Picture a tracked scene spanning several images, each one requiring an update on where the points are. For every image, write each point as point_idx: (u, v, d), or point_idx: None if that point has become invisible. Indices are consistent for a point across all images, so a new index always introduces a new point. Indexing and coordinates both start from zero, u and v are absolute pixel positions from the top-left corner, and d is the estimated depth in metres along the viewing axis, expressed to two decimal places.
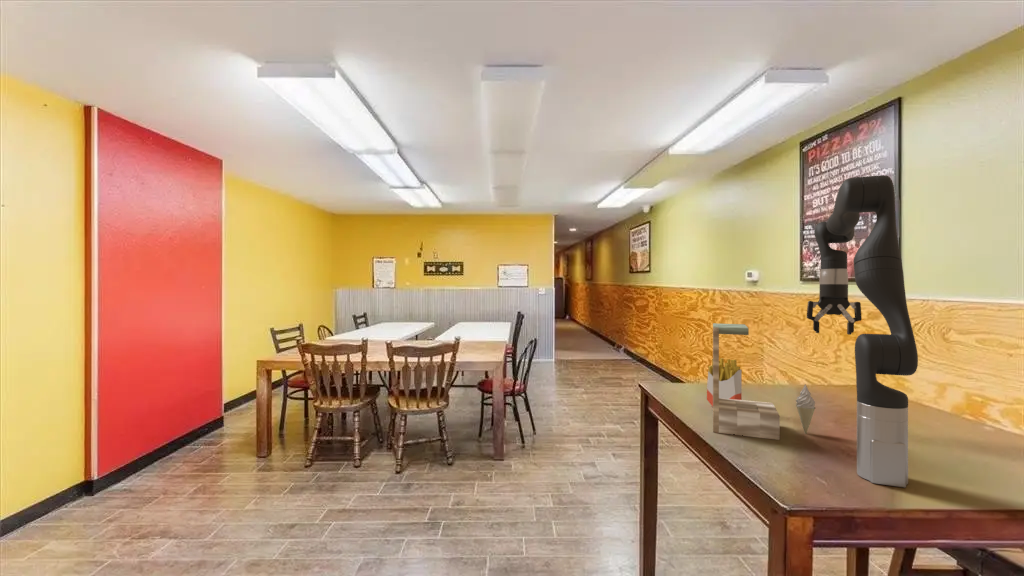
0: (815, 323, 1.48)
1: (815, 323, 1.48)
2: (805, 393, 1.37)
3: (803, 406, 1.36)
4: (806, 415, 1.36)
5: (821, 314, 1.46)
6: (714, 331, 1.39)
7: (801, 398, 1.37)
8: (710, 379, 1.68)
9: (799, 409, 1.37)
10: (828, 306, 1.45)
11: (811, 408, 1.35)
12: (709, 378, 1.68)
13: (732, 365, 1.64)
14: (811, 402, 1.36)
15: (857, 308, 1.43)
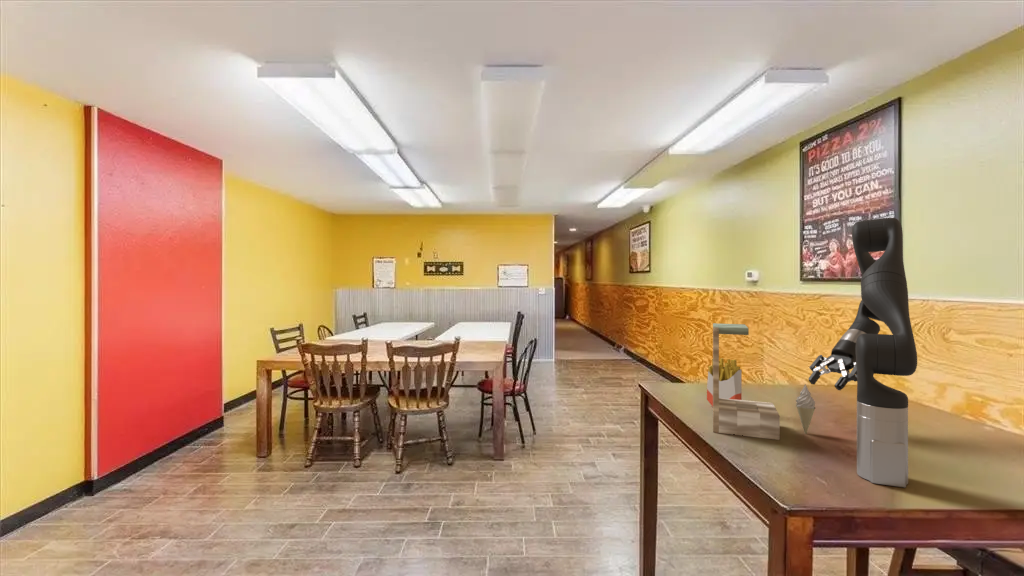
0: (813, 373, 1.45)
1: (813, 373, 1.45)
2: (805, 393, 1.37)
3: (803, 406, 1.36)
4: (806, 415, 1.36)
5: (821, 365, 1.44)
6: (714, 331, 1.39)
7: (801, 398, 1.37)
8: (709, 379, 1.68)
9: (799, 409, 1.37)
10: (830, 359, 1.43)
11: (811, 408, 1.35)
12: (709, 378, 1.68)
13: (732, 365, 1.64)
14: (811, 402, 1.36)
15: (855, 366, 1.35)
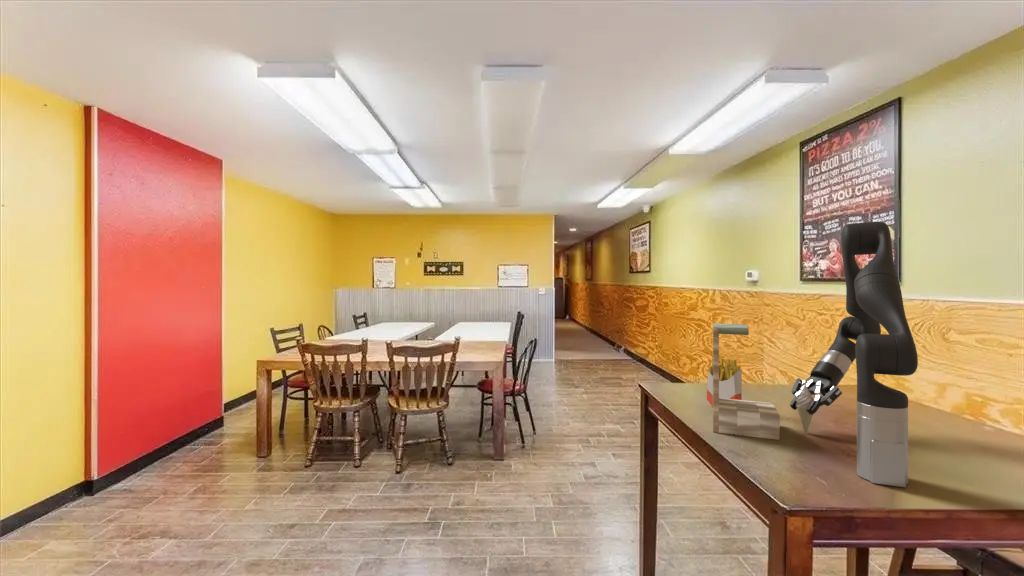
0: (794, 398, 1.41)
1: (794, 398, 1.41)
2: (805, 393, 1.37)
3: (803, 406, 1.36)
4: (806, 415, 1.36)
5: (801, 388, 1.41)
6: (714, 331, 1.39)
7: (801, 398, 1.37)
8: (710, 379, 1.68)
9: (799, 409, 1.37)
10: (809, 381, 1.40)
11: None
12: (709, 378, 1.68)
13: (732, 365, 1.64)
14: (811, 402, 1.36)
15: (831, 391, 1.33)
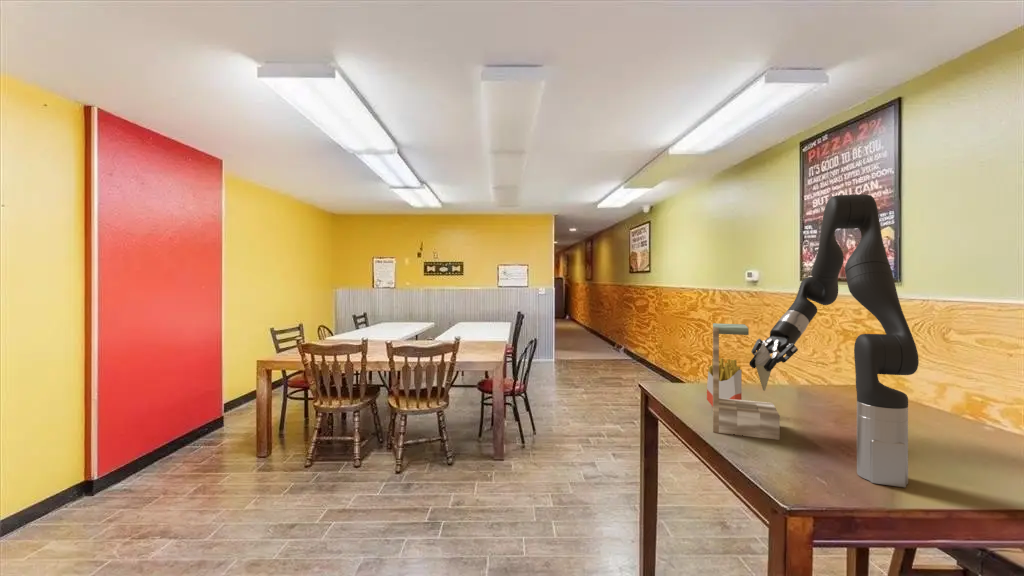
0: (754, 357, 1.44)
1: (754, 357, 1.44)
2: (763, 351, 1.40)
3: (761, 364, 1.40)
4: (764, 372, 1.39)
5: (760, 348, 1.44)
6: (714, 331, 1.39)
7: (759, 356, 1.41)
8: (709, 379, 1.68)
9: (757, 367, 1.41)
10: (768, 340, 1.44)
11: None
12: (709, 378, 1.68)
13: (732, 365, 1.64)
14: None
15: (787, 347, 1.37)
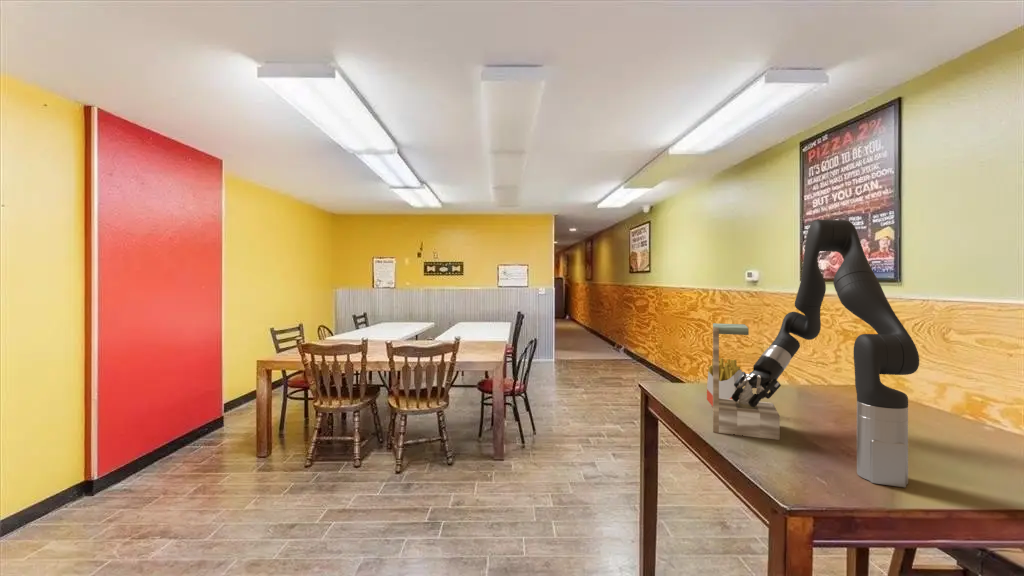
0: None
1: (736, 390, 1.46)
2: (747, 390, 1.41)
3: (744, 402, 1.41)
4: None
5: (743, 382, 1.46)
6: (714, 331, 1.39)
7: (743, 394, 1.42)
8: (709, 379, 1.68)
9: (741, 405, 1.42)
10: (751, 375, 1.45)
11: None
12: (709, 378, 1.68)
13: (732, 365, 1.64)
14: None
15: (770, 383, 1.38)
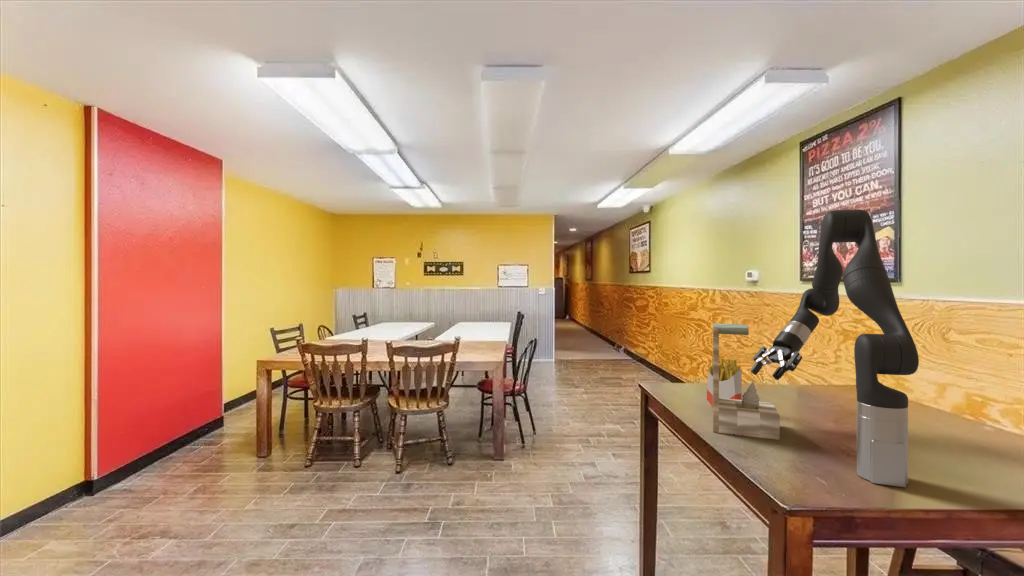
0: (755, 364, 1.50)
1: (755, 364, 1.50)
2: (751, 389, 1.42)
3: (747, 401, 1.41)
4: None
5: (762, 356, 1.49)
6: (714, 331, 1.39)
7: (747, 394, 1.42)
8: (710, 379, 1.68)
9: (743, 404, 1.42)
10: (771, 350, 1.47)
11: (755, 404, 1.40)
12: (709, 378, 1.68)
13: (732, 365, 1.64)
14: (755, 398, 1.41)
15: (793, 356, 1.40)
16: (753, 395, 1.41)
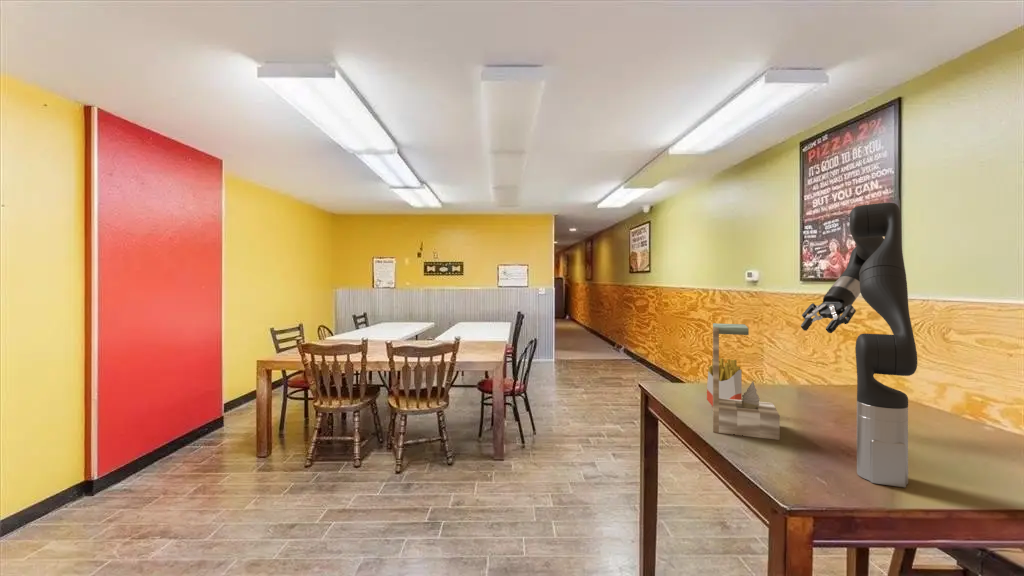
0: (805, 320, 1.49)
1: (805, 320, 1.49)
2: (751, 389, 1.42)
3: (747, 401, 1.41)
4: None
5: (813, 312, 1.48)
6: (714, 331, 1.39)
7: (747, 394, 1.42)
8: (710, 379, 1.68)
9: (743, 404, 1.42)
10: (822, 305, 1.47)
11: (755, 404, 1.40)
12: (709, 378, 1.68)
13: (732, 365, 1.64)
14: (755, 398, 1.41)
15: (846, 309, 1.39)
16: (753, 395, 1.41)
